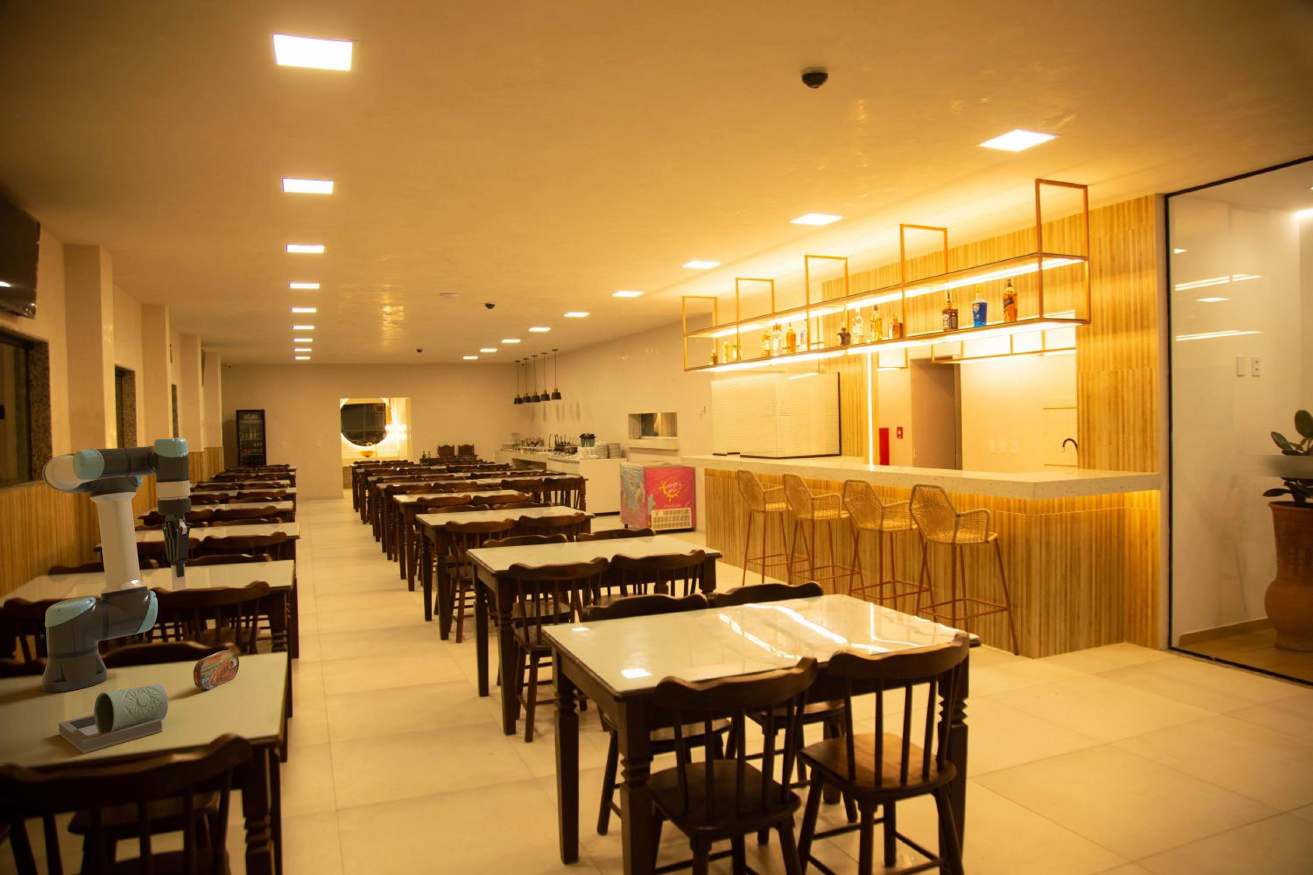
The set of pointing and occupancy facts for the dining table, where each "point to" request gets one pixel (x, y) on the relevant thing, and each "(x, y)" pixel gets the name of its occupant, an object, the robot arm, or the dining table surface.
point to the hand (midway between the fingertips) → (179, 589)
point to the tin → (216, 669)
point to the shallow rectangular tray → (89, 738)
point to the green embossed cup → (129, 707)
